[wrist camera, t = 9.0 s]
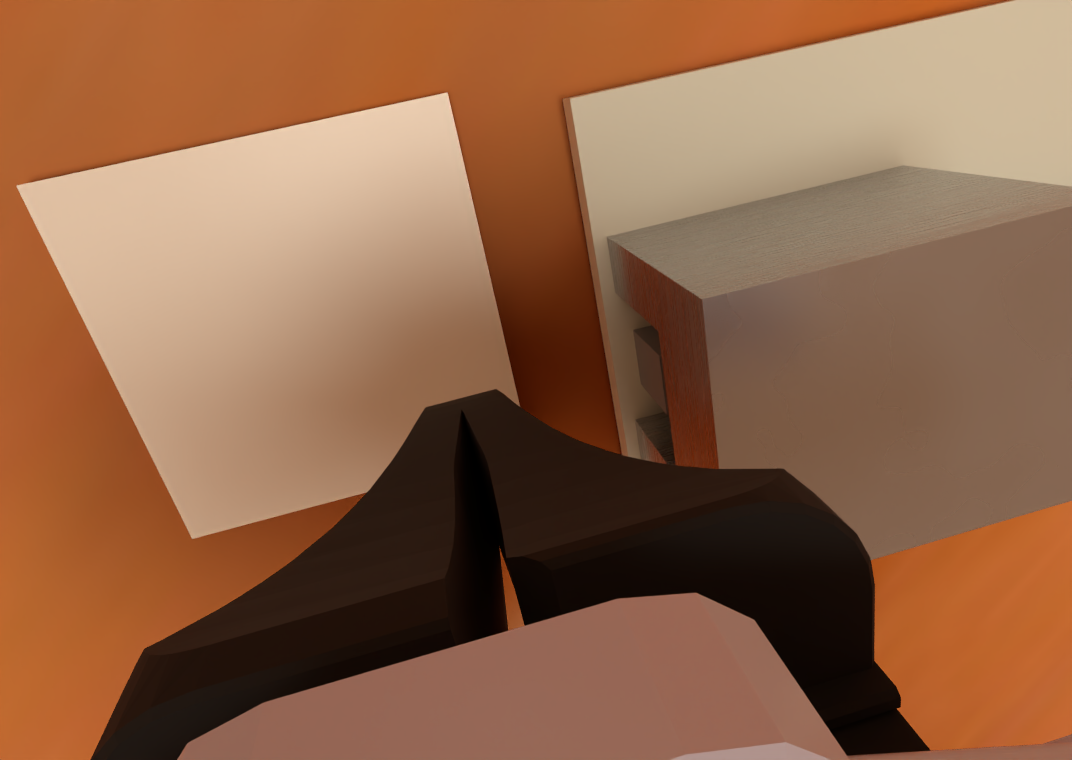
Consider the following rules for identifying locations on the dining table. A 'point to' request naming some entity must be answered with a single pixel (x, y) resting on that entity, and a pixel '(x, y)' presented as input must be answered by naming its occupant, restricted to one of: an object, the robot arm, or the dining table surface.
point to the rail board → (812, 139)
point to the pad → (282, 302)
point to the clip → (870, 346)
